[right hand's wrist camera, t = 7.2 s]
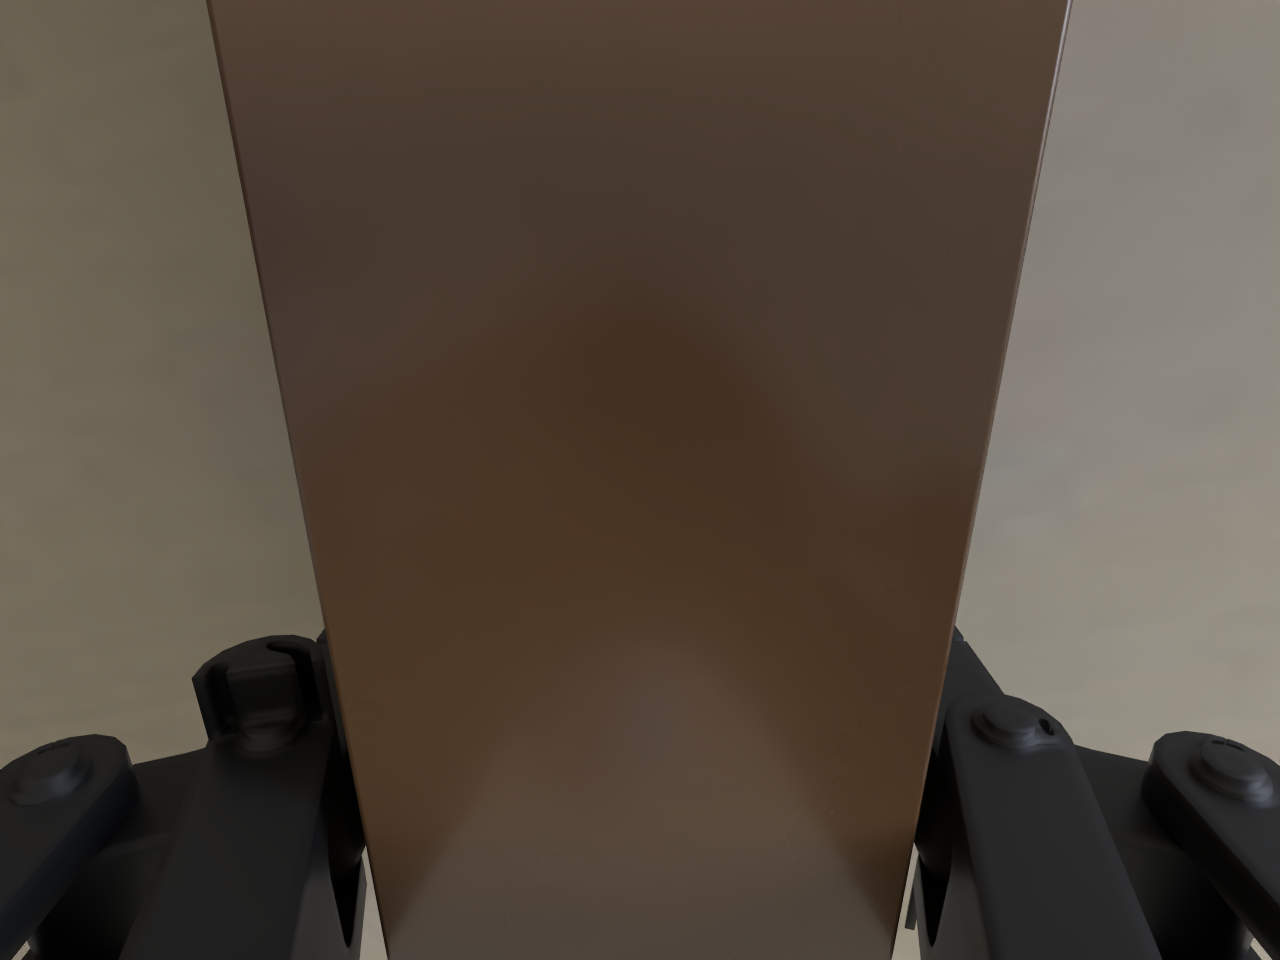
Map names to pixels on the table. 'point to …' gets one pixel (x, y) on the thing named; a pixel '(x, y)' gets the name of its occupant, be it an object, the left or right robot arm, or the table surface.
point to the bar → (639, 437)
